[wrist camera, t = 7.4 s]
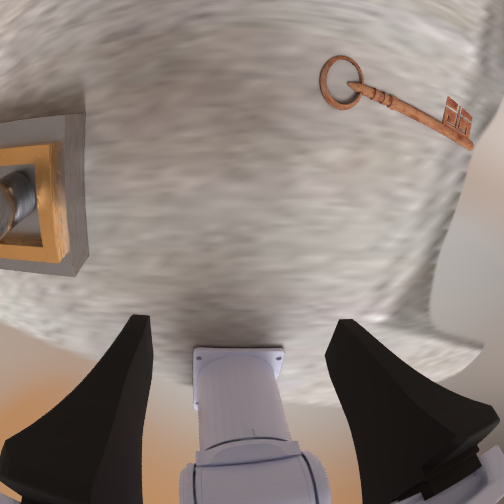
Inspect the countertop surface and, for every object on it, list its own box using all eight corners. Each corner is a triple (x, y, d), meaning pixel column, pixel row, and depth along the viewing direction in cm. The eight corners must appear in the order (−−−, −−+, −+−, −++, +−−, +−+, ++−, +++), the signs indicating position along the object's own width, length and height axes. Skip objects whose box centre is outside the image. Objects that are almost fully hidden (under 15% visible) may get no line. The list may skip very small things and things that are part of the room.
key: (472, 107, 18) (328, 27, 15) (479, 107, 18) (333, 23, 14) (462, 166, 20) (313, 102, 17) (469, 167, 20) (318, 101, 16)
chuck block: (89, 255, 19) (69, 285, 16) (8, 249, 18) (-18, 274, 14) (85, 113, 15) (57, 115, 12) (-4, 123, 14) (-38, 131, 10)
